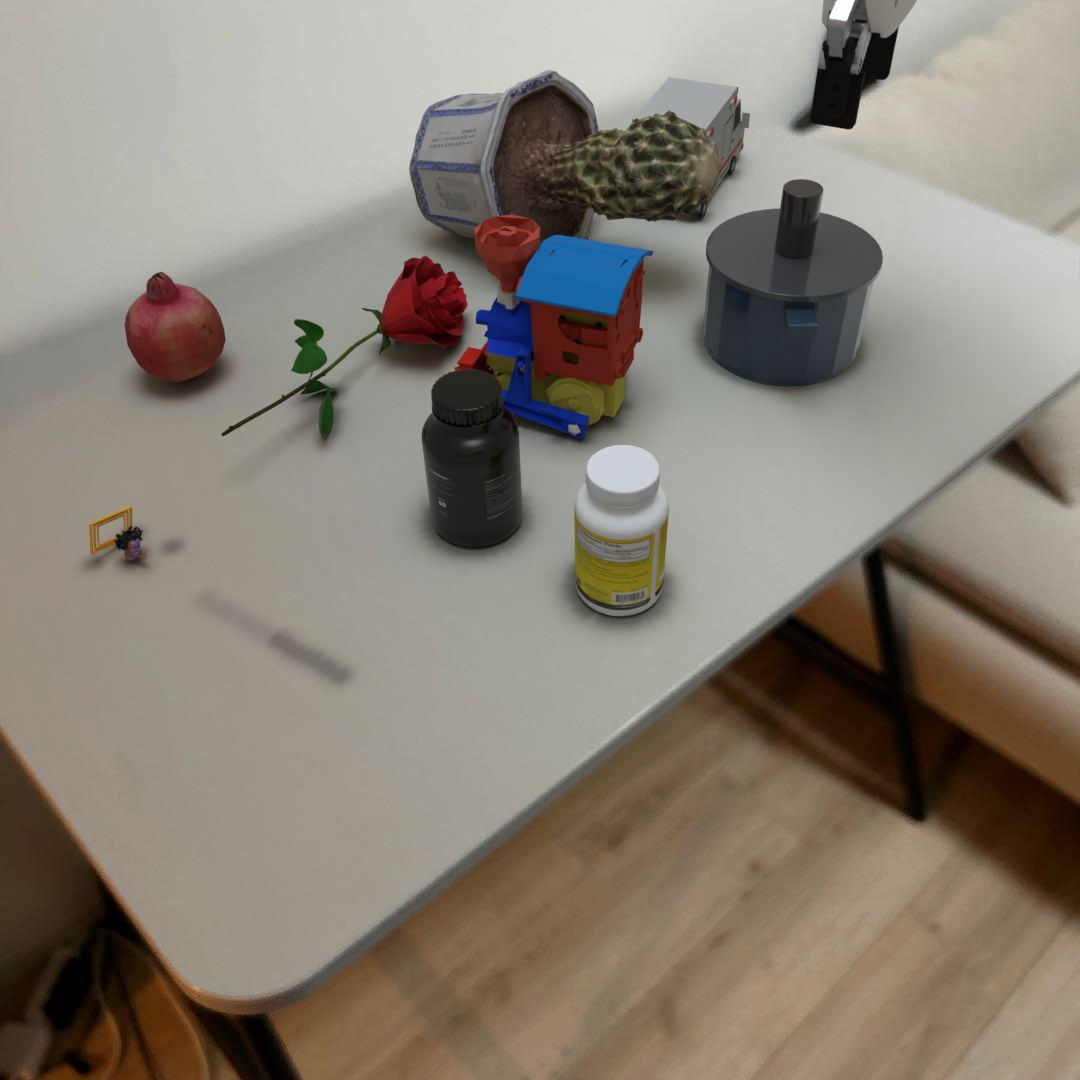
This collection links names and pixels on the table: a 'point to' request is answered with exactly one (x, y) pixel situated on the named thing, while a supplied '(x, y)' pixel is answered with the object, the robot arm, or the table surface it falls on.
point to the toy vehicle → (704, 117)
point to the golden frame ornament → (119, 535)
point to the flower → (387, 327)
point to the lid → (794, 250)
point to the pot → (782, 334)
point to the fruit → (174, 330)
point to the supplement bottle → (472, 460)
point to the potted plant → (554, 161)
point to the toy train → (558, 322)
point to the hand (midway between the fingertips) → (850, 99)
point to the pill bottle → (621, 531)
